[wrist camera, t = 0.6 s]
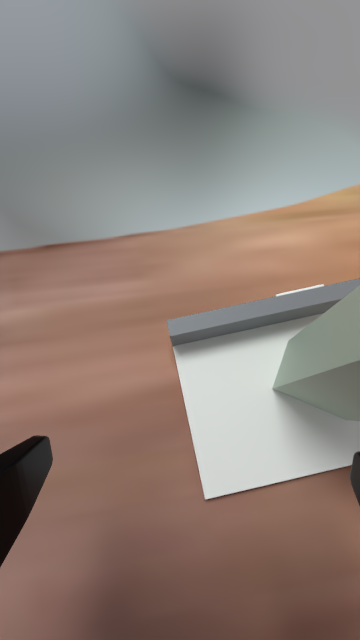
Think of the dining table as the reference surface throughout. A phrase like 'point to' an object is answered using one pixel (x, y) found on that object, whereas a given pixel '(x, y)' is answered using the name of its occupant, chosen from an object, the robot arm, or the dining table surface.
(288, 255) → the dining table surface
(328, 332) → the green carton
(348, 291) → the white plate with rail
